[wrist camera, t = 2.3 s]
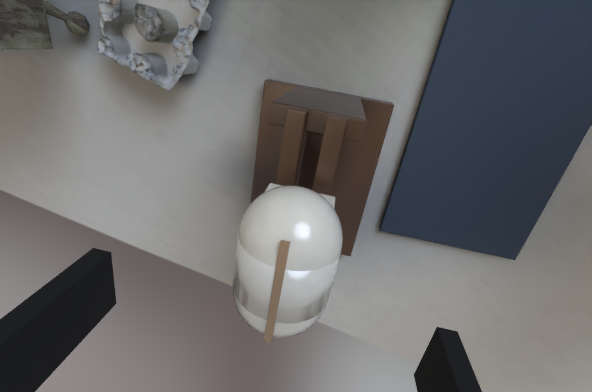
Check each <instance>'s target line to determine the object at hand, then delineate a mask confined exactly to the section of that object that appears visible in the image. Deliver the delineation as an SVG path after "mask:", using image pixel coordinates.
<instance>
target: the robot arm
mask: <svg viewBox="0 0 592 392" xmlns="http://www.w3.org/2000/svg"><path fill="white" fill-rule="evenodd" d="M115 304H116V296H115V288H114V277H113V267H112V257H111V252H107V251H103V250H99V249H95V248H93V249H92V250H90V251H89V252H88V253H86V254H85V255H84V256H82V257H81V258H80V259H78V260H77V261H76V262H75V263H73V264H72V265H71V266H69V267H68V268H67V269H65V270H64V271H63V272H61V273H60V274H59V275H58V276H56V277H55V278H54V279H52V280H51V281H50V282H48V283H47V284H46V285H44V286H43V287H42V288H41V289H39V290H38V291H37V292H35V293H34V294H33V295H31V296H30V297H29V298H28V299H26V300H25V301H24V302H23V303H21V304H20V305H18V306H17V307H16V308H14V309H13V310H12V311H11V312H9V313H8V314H7V315H5V316H4V317H3V318H1V319H0V392H35V391H36V390H37V389H38V388H39V387H40V385H41V384H42V383H43V382H44V381H45V380H46V379H47V378H48V377H49V376H50V375H51V374H52V373H53V371H54V370H55V369H56V368H57V367H58V366H59V365H60V364H61V363H62V362H63V361H64V360H65V358H66V357H67V356H68V355H69V354H70V353H71V352H72V351H73V350H74V349H75V348H76V347H77V345H78V344H79V343H80V342H81V341H82V340H83V339H84V338H85V337H86V336H87V335H88V333H89V332H90V331H91V330H92V329H93V328H94V327H95V326H96V325H97V324H98V323H99V322H100V320H101V319H102V318H103V317H104V316H105V315H106V314H107V313H108V312H109V311H110V310H111V309H112V307H113V306H114V305H115ZM414 377H415V382H416V386H417V391H418V392H482V391H481V388H480V386H479V384H478V381H477V379H476V376H475V374H474V371H473V369H472V366H471V364H470V361H469V359H468V356H467V354H466V352H465V349H464V347H463V344H462V342H461V339H460V337H459V334H458V332H457V331H452V330H448V329H443V328H439V327H437V328H436V330H435V332H434V334H433V337H432V339H431V341H430V343H429V345H428V347H427V349H426V351H425V353H424V355H423V357H422V359H421V361H420V363H419V366H418V368H417V370H416V372H415V374H414Z"/></svg>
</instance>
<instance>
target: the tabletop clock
mask: <svg viewBox="0 0 592 392" xmlns="http://www.w3.org/2000/svg"><path fill="white" fill-rule="evenodd" d="M46 14H49V15H51V16H54V17H56V18H59V19H61V20H64V22H65V24H66V26H67V28H68V29H69V30H70V31H71V32H73V33H75V34H77V35H82V34H85V33H86V32H87V31H88V30H89V23H88V21H87V19H86V17H85V16H84V15H82V14H80V13H78V12H69V13H68V14H65V13H63V12H62V11H60V10H59V9H57V8H55V7H54V6H52V5H50V4H49V3H47V2H46V1H44V0H0V49H51V48H52V43H51V37H50V32H49V27H48V21H47V16H46Z"/></svg>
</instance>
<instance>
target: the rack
mask: <svg viewBox="0 0 592 392" xmlns="http://www.w3.org/2000/svg"><path fill="white" fill-rule="evenodd" d="M393 107H394V105H393V104H392V103H391V102H386V101H381V100H376V99H370V98H365V97H360V96H354V95H349V94H344V93H339V92H333V91H328V90H323V89H318V88H312V87H307V86H302V85H296V84H291V83H286V82H281V81H275V80H270V79H268V80H265V83H264V92H263V100H262V109H261V118H260V126H259V135H258V144H257V153H256V161H255V170H254V179H253V188H252V196H251V203H252V202H253V201H254V200H255V199H256V198H257V197H258V196H260V195H261V194H262V193H264V192H265V190H266V189H267V187H268V186H269V184H270V183H273V184H277V185H282V186H287V185H296V186H302V187H306V188H309V189H311V190H313V191H315V192H317V193H320V194H324V195H329V196H334V197H335V209H334V210H335V211H336V213H337V215H338V217H339V220H340V223H341V226H342V234H343V243H342V250H341V254H342V255H347V256H351V252H352V249H353V245H354V242H355V238H356V235H357V232H358V228H359V225H360V221H361V218H362V214H363V211H364V207H365V204H366V200H367V197H368V193H369V190H370V186H371V183H372V179H373V176H374V173H375V169H376V166H377V162H378V159H379V155H380V152H381V148H382V145H383V141H384V138H385V134H386V131H387V127H388V124H389V121H390V117H391V114H392V110H393Z"/></svg>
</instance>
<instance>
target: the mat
mask: <svg viewBox="0 0 592 392" xmlns="http://www.w3.org/2000/svg"><path fill="white" fill-rule="evenodd" d="M591 124H592V0H452V3H451V6H450V10H449V13H448V16H447V19H446V22H445V25H444V28H443V31H442V34H441V38H440V41H439V44H438V47H437V50H436V53H435V56H434V59H433V62H432V66H431V69H430V72H429V75H428V78H427V81H426V84H425V87H424V91H423V94H422V97H421V100H420V103H419V106H418V109H417V112H416V115H415V119H414V122H413V125H412V128H411V131H410V134H409V137H408V140H407V143H406V147H405V150H404V153H403V156H402V159H401V162H400V165H399V168H398V172H397V175H396V178H395V181H394V184H393V187H392V190H391V193H390V196H389V200H388V203H387V206H386V209H385V212H384V215H383V218H382V221H381V224H380V231H384V232H389V233H393V234H398V235H402V236H407V237H412V238H416V239H421V240H425V241H430V242H434V243H439V244H444V245H448V246H453V247H457V248H462V249H467V250H471V251H476V252H480V253H485V254H490V255H494V256H499V257H503V258H508V259H512V260H515V259H516V257H517V256H518V254H519V252H520V250H521V249H522V247H523V245H524V243H525V241H526V240H527V238H528V236H529V234H530V233H531V231H532V229H533V227H534V225H535V224H536V222H537V220H538V218H539V216H540V215H541V213H542V211H543V209H544V208H545V206H546V204H547V202H548V200H549V199H550V197H551V195H552V193H553V192H554V190H555V188H556V186H557V184H558V183H559V181H560V179H561V177H562V176H563V174H564V172H565V170H566V168H567V167H568V165H569V163H570V161H571V160H572V158H573V156H574V154H575V152H576V151H577V149H578V147H579V145H580V144H581V142H582V140H583V138H584V136H585V135H586V133H587V131H588V129H589V128H590V126H591Z"/></svg>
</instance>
